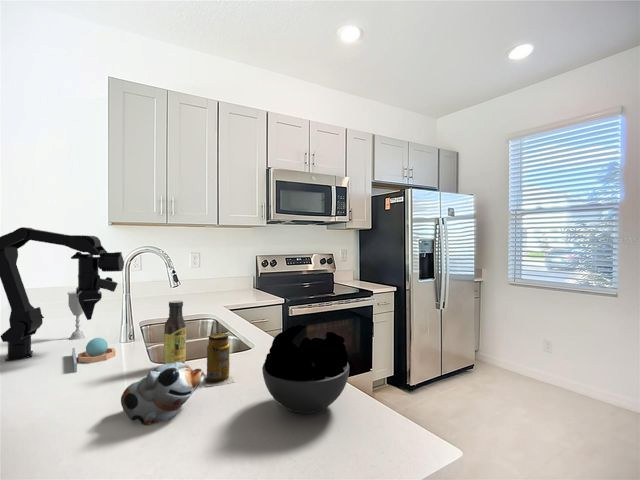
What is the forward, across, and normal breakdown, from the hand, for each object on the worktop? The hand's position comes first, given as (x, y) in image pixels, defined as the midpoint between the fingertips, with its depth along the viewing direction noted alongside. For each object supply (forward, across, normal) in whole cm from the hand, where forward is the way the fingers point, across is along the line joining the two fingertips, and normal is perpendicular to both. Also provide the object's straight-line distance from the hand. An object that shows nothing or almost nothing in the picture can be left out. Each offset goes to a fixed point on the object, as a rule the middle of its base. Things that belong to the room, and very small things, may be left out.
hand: (88, 317), depth 114 cm
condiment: (+12, -49, -27) cm, 57 cm away
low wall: (+12, -10, +4) cm, 16 cm away
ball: (+9, -8, -2) cm, 12 cm away
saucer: (+12, -8, -2) cm, 15 cm away
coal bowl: (+12, -77, -37) cm, 86 cm away
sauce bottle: (+12, -32, -20) cm, 40 cm away
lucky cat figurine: (+12, -58, -11) cm, 61 cm away
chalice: (+12, +23, +2) cm, 26 cm away
